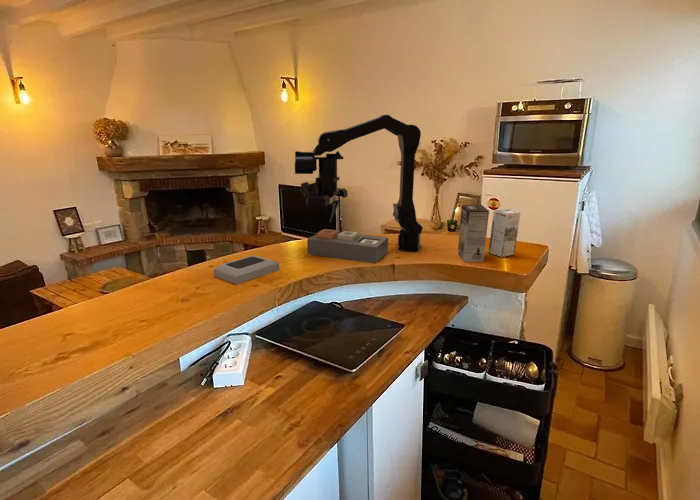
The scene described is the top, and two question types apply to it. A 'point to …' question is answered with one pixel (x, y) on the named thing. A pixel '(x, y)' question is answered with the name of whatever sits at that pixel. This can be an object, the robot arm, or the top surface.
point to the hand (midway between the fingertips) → (328, 223)
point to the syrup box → (504, 232)
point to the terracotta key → (328, 234)
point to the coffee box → (473, 233)
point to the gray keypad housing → (349, 248)
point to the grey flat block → (245, 269)
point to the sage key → (348, 236)
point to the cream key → (369, 241)
